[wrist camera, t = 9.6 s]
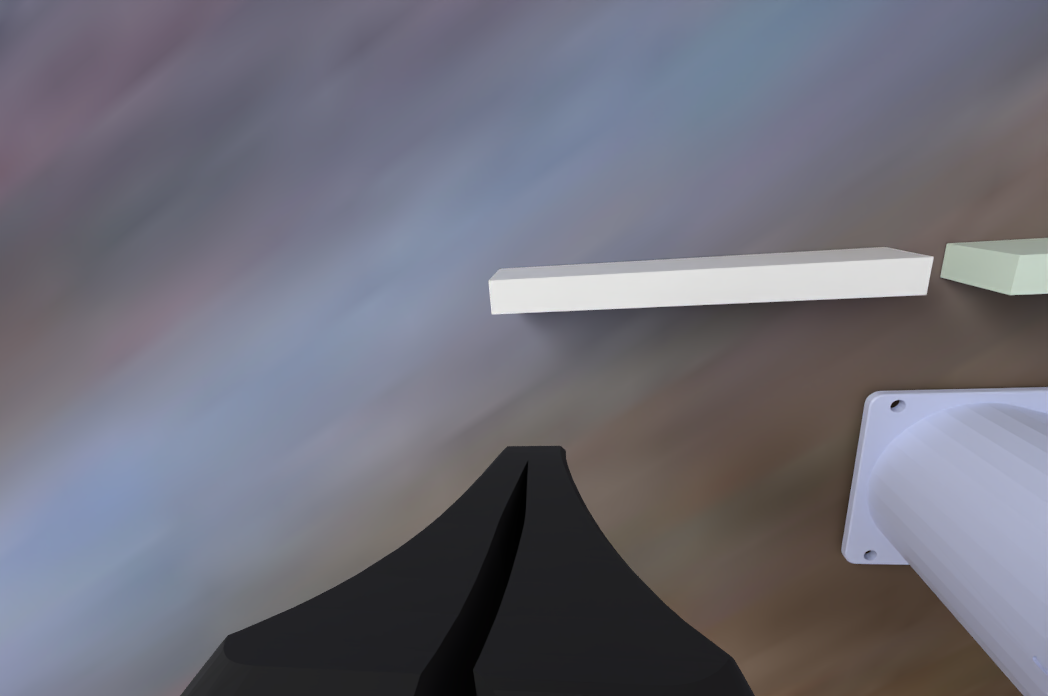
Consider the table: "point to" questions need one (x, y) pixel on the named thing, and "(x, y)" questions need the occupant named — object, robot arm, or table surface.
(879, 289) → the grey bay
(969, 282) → the sage corral
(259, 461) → the table surface
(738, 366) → the table surface
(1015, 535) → the robot arm
